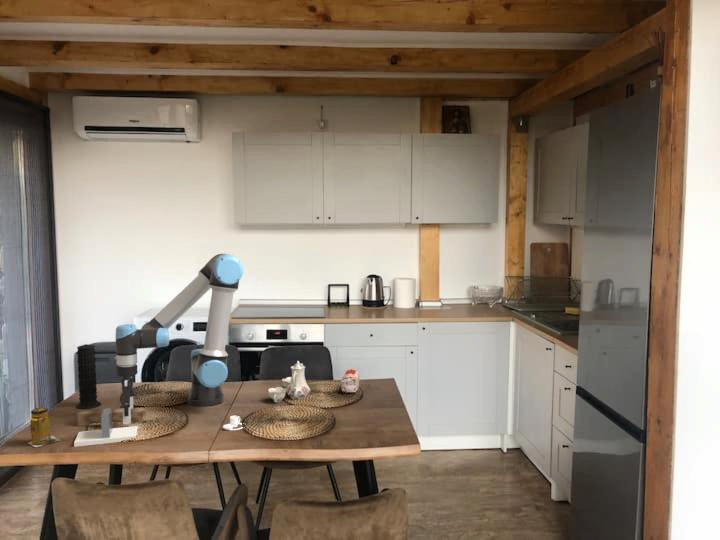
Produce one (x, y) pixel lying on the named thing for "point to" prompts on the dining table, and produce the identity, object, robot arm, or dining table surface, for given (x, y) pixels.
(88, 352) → the handle grip
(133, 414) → the walnut batten
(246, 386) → the dining table surface
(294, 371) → the chinaware
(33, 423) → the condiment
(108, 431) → the steel ridge
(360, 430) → the dining table surface
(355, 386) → the food item
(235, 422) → the teacup and saucer
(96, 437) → the white board
